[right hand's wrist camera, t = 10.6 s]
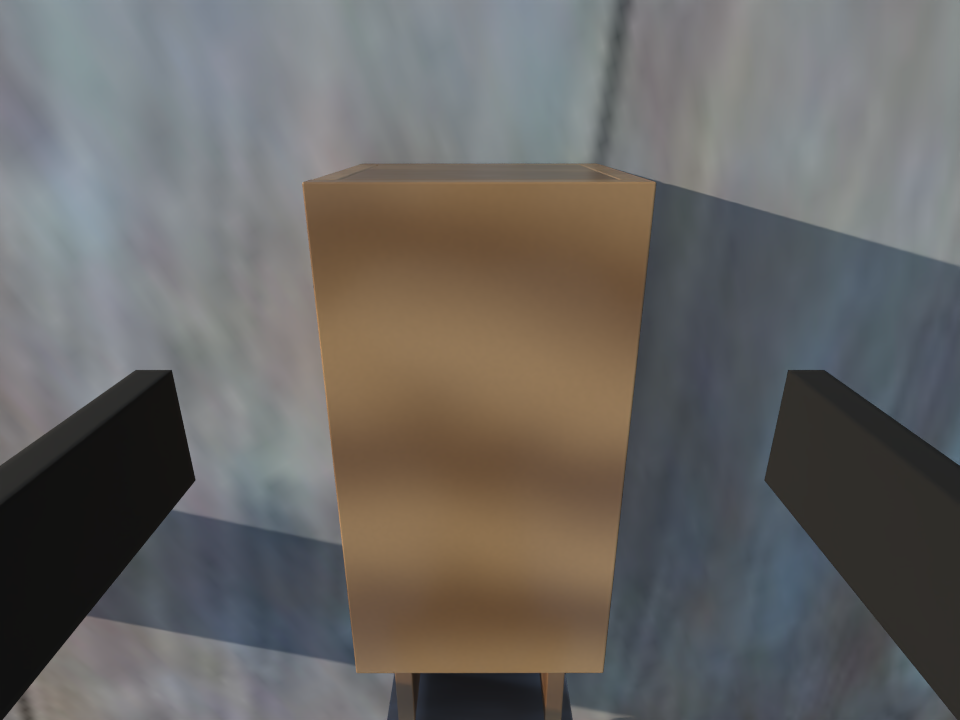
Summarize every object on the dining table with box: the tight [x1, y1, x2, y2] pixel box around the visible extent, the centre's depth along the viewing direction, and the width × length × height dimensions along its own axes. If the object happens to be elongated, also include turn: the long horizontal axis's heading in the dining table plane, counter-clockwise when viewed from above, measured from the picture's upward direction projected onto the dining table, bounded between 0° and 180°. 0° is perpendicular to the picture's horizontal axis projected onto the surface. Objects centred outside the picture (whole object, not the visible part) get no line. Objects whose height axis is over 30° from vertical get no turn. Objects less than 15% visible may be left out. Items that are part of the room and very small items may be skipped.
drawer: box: [387, 673, 573, 720], centre depth 29 cm, size 25×9×7 cm, turn 0°
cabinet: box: [302, 164, 656, 673], centre depth 25 cm, size 20×10×9 cm, turn 0°
